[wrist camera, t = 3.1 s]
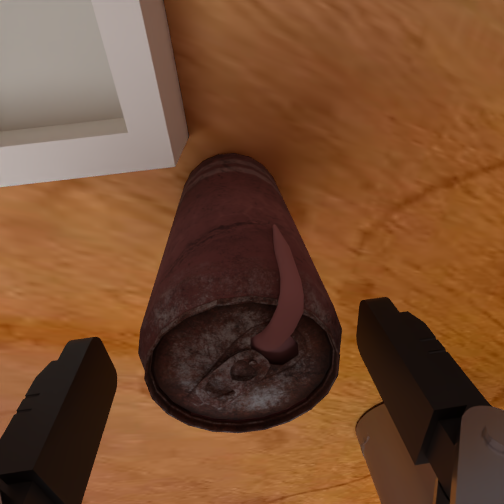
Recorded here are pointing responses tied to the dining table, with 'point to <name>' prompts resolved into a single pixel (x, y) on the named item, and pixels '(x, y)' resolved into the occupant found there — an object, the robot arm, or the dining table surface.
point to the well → (87, 90)
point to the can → (237, 307)
